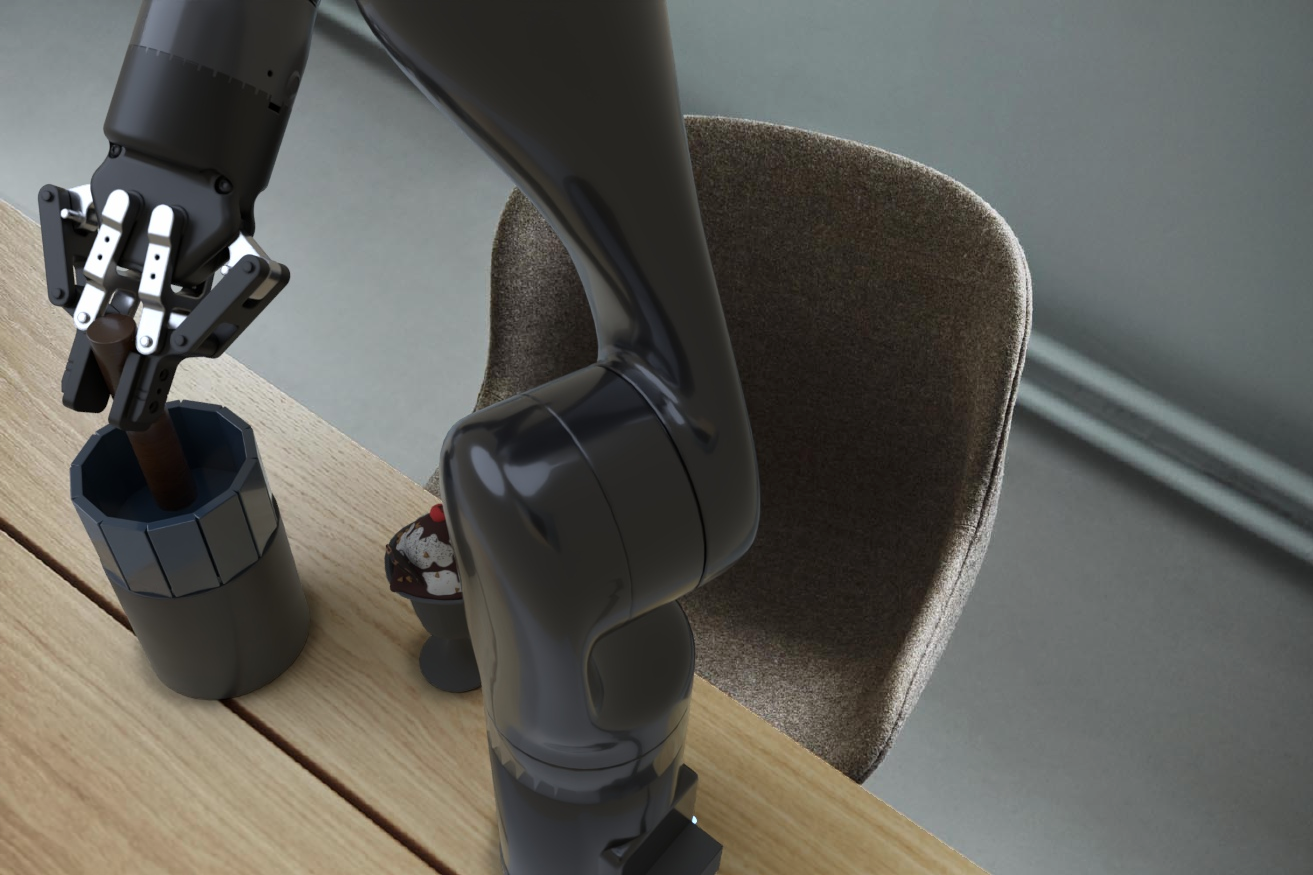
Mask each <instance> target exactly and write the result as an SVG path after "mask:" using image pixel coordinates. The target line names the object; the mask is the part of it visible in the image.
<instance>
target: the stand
mask: <svg viewBox="0 0 1313 875" xmlns="http://www.w3.org/2000/svg"><path fill="white" fill-rule="evenodd" d="M272 495H273V501H274V506H275V511H276V516H277V521H278V522H277V527H276V529H275V531H274V533H273V535H272V537H271V539H270V541H269V543H268V545H267V547H266V549H265V551H264V553H263V554H262V556H261V557H258V561H256V562H255V563H253V564H252V565H251V566H249V567H248V568H246V569H245V570H244V571H242V572H241V573H239V574H238V575H237V576H235V577H234V578H233V579H231V580H230V581H228V582H227V583H226V584H220V587H216V588H212V589H208V590H204V591H200V592H196V593H192V594H188V595H184V596H180V597H175V596H173V598H170V597H164V596H157V595H151V594H145V593H139V592H133V591H131V589H130V590H128V589H127V588H126V587H125V586H124V585H123V584H122V583H121V582H119V581H118V580H117V579H116V578H115V577H114V576H113V575H112V574H111V573H110V572H109V571H107V570H106V569H105V568H104V566H103V564H102V562H101V560H100V559H99V562H100V564H101V567H102V570H103V572H104V573H105V575H106V577H107V579H108V581H109V584H110V586H111V587H112V589H113V592H114V594H115V596H116V597H117V600H118V601H119V604H120V606H121V608H122V610H123V612H124V614H125V616H126V619H127V620H128V622H129V624H130V626H131V628H132V630H133V632H134V635H135V636H136V638H137V640H138V642H139V644H140V646H141V649H142V651H143V652H144V655H145V656H146V658H147V659H146V660H147V661H148V662H149V665H150V667H151V669H152V670H153V672H154V673H155V675H156V677H157V678H158V679H159V681H161V683H162V684H164V685H165V686H166V687H168V688H169V689H170V690H172V691H174V692H176V693H178V694H181V695H183V696H186V697H188V698H193V699H196V700H197V699H198V700H207V701H209V700H213V701H214V700H225V699H231V698H236V697H240V696H243V695H246V694H249V693H251V692H254V691H256V690H259V689H261V688H263V687H264V686H267V685H268V684H270V683H271V682H273V681H275V680H276V679H277V678H278V677H280V676H281V675H282V674H283V673H284V672H285V671H287V669H289V667H290V666H292V664H293V663H294V662H295V661H296V660H297V658H298V657H299V655H300V654H301V652H302V651H303V648H304V647H305V644H306V642H307V639H308V637H309V633H310V628H311V613H310V609H309V606H308V602H307V598H306V595H305V592H304V591H305V590H304V588H303V585H302V582H301V579H300V578H301V577H300V574H299V572H298V568H297V564H296V561H295V557H294V554H293V551H292V548H291V545H290V541H289V538H288V534H287V531H286V527H285V525H284V521H283V517H282V514H281V510H280V507H279V504H278V501H277V499H276V497H275V495H274V493H273V492H272Z"/></svg>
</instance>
